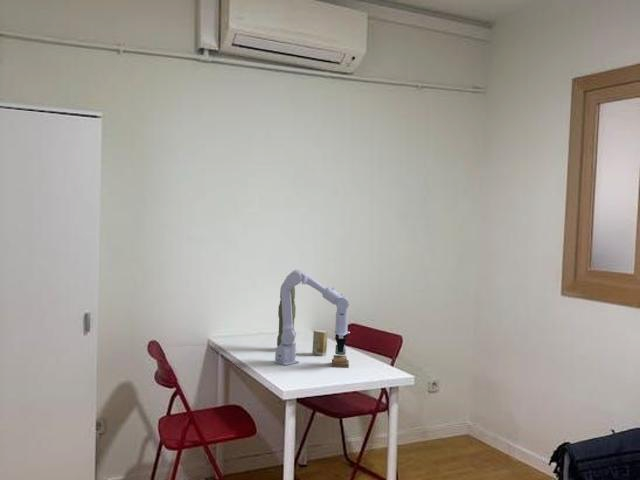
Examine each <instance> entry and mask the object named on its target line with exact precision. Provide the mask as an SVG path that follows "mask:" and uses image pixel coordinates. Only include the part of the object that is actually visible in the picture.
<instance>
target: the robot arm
mask: <svg viewBox="0 0 640 480" xmlns="http://www.w3.org/2000/svg"><path fill="white" fill-rule="evenodd" d="M300 284H302V285H308V286H310V287H311V288H313V289H315V290H316V291H318V292H320V294H321V295H322V297H323V299H325V300H326V301H328V302H329V303H331V304H332V305H335V306H336V313H335V327H334V328H335V330H334V336H335V337H334V340H335V342H336V345H337V347H338V352H343V349H344V345H345V344H346V342H347V340H348V335H349V334H350V333H351V332H350V331H348V325H349V324H348V323H349V322H348V321H349V306H350V304H349V303H350V302H349V299H348V298H347V297H346V296H345V295H343V294H342V293H339V292H337V291H336V290H335V288H334V287H325V286H324V285H323V284H321V283H320V282H318V281H317V280H316V279H315V278H313V277H311V276H310V275H309V274H308V273H306V272H302V271H301V270H300V269H294V270H292V271H291V272H290V273H289V274H288V275H287V276H286V277H285V279H284V281H283V283H282V284H281V286H280V289H281V298H280V299H281V301H282V318H283V329H282V330H283V333H282V335H281V341H282V342H281V344H280V345H279V346H277V345H276V348H275V353H274V354H275V356H274V361H273V362H274V363H275V364H279V365H283V366H288V365H292V364H293V365H294V364H297V363H300V361H299V360H296V351H297V350H296V349H297V348H296V347H297V345H296V344H297V343H296V341H295V340H294V339H296V336H297V333H296V331H295V327H294V328H293V320H292V303H291V289H292V288H293V287H296V286H298V285H300Z"/></svg>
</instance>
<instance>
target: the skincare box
mask: <svg viewBox="0 0 640 480" xmlns="http://www.w3.org/2000/svg"><path fill="white" fill-rule="evenodd" d="M327 347H328V331H327V330H321V329H315V330H313V336H312V351H311V353H312V355H314V356H321V357H324V356H326V355H327Z"/></svg>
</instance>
